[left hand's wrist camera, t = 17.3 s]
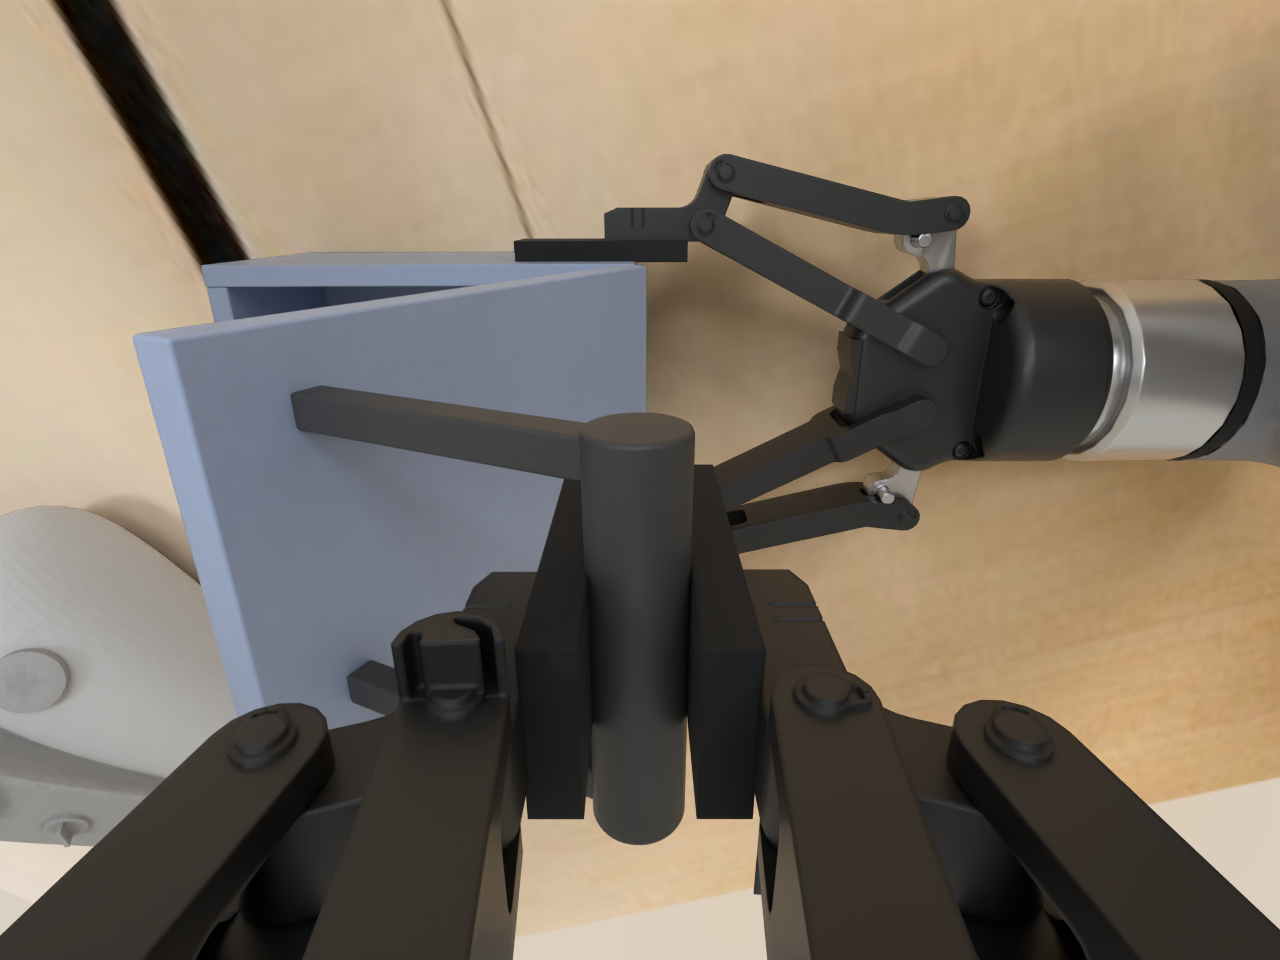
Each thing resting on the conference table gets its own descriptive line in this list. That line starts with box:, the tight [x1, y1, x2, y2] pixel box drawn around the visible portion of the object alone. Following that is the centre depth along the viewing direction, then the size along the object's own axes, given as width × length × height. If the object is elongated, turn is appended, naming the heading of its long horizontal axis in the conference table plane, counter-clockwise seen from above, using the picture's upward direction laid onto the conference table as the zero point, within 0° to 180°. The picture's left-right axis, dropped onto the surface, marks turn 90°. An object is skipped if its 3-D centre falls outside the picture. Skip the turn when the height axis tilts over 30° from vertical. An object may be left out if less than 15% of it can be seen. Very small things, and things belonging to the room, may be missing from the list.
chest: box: [201, 252, 636, 323], centre depth 30 cm, size 16×9×9 cm, turn 90°
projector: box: [0, 506, 237, 847], centre depth 34 cm, size 22×23×15 cm
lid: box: [133, 265, 695, 845], centre depth 17 cm, size 16×9×8 cm
